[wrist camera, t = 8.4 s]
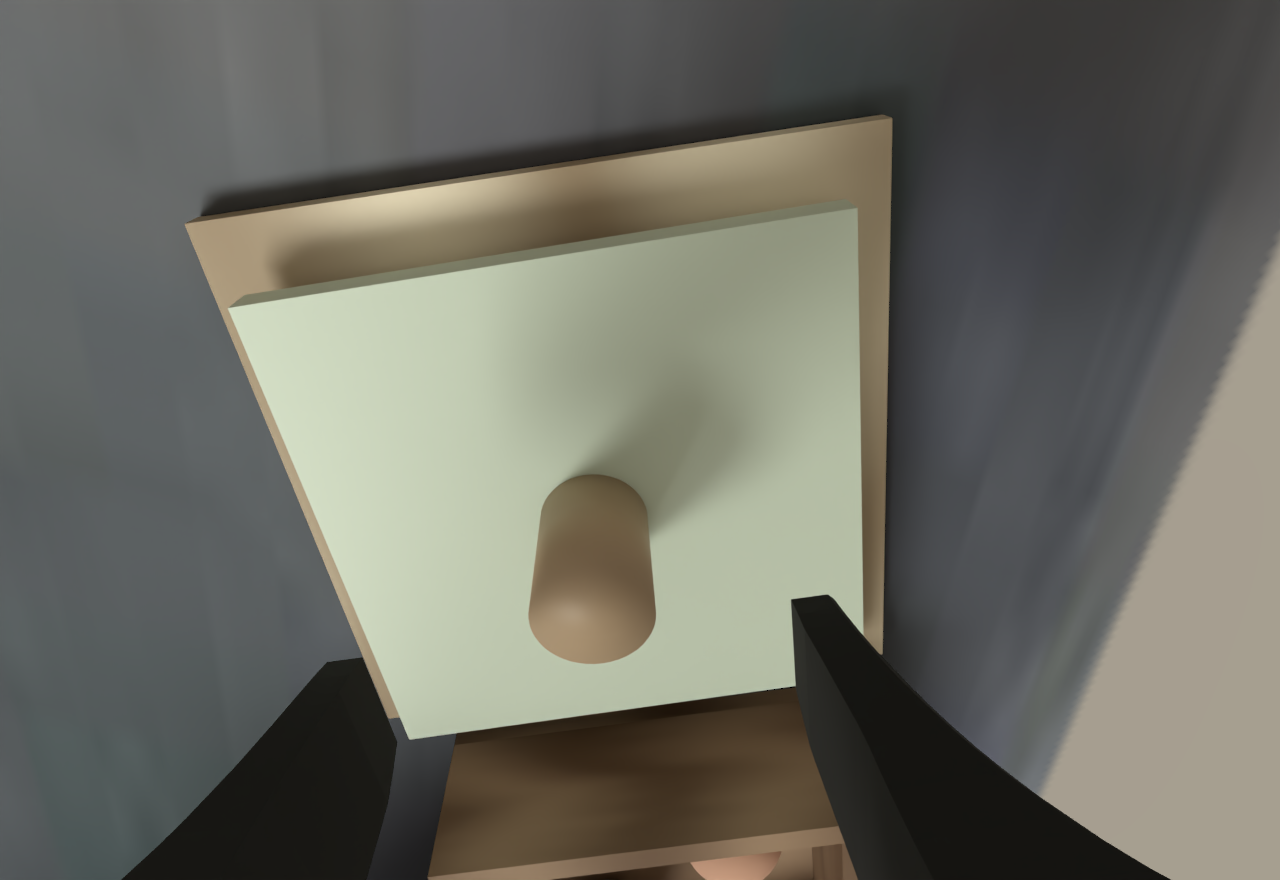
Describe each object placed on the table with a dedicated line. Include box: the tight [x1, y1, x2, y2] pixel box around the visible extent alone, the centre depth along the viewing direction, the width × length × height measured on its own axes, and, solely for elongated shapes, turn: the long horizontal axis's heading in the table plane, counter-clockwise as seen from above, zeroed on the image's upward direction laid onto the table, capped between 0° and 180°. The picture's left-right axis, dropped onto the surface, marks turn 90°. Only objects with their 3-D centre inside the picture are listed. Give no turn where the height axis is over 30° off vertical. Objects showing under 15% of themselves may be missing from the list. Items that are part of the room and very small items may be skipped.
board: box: [185, 115, 892, 719], centre depth 19 cm, size 14×14×1 cm
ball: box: [690, 851, 782, 880], centre depth 23 cm, size 3×3×3 cm
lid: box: [228, 199, 864, 740], centre depth 17 cm, size 12×12×5 cm
